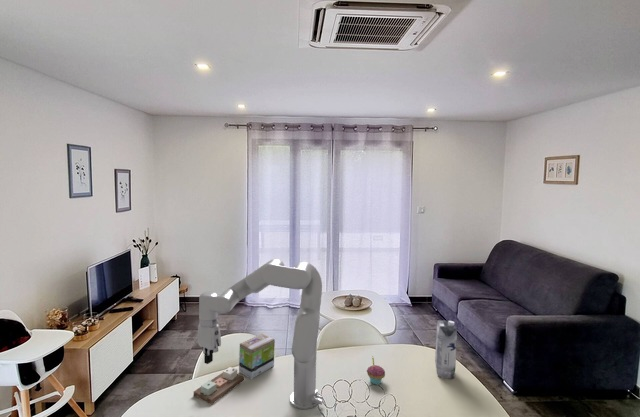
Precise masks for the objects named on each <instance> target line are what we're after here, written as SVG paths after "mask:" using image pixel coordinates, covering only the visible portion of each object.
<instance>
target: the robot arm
mask: <svg viewBox="0 0 640 417" xmlns="http://www.w3.org/2000/svg"><path fill="white" fill-rule="evenodd" d="M322 281H323V280H322V278H321V275H320V273H319V271H318V269H317V268H316V267H315V266H314V265H313V264H311V263H310V262H307V261H300V262H297V263H296V264H295V265H294V267H290V266H286V265H285V264H284V262H283V261H282V260H281V259H279V258H274V259H270V260H268V261H267V262H266V263H264V264H262V265H261V266H259V267H258V268H257V269H255V270H254V271H252V272H251V273H249V274H248V275H246V276H244V277H243V279H241V280H239V281H237V282H236V283H234V284H233V285H231V286H230V287H228V288H227V289H225V291H224V292H222V293H221V294H219V295H218V294H217V292H214V291H206V292H205V291H204V292H202V293H201V294H199V298H198V299H199V300H198V301H199V302H198V303H199V304H198V305H199V307H198V308H199V309H198V310H199V312H198V315H199V317H198V318H199V319H198V320H199V323H198V328H197V338H196V339H197V345H198V346H199V348H201V349H202V353H203V356H204V357H203V358H204V360H203V361H204V362H203V363H204V364H206V365H209V364H211V363H212V362H213V360H214V358H213V357H214V356H213V355H214V353H218V352H219V347H221V345H222V339H221V334H222V333H221V328H220V325H219V320H218V319H219V318H218V317H219V314H228V313H229V312H231V311H232V309H233V308H234V307H235V306H236V305H237V304H238V303H239V302H240V301H241V300H243V299H245V298H246V297H248V296H250V295H251V294H258V293H260V292H261V291H263V290H265V289H266V288H268V287H269V286H273V287H279V288H284V289H285V288H286V289H291V290H292V289H293V290H301V296H300V297H301V298H300V303H299V309H298V312H297V315H296V320H295V322H294V323H295V324H294V330H293V337H292V344H291V353H292V356H293V392H291V394H290V396H289V402H290V405H292V406H293V407H294V408H296V409H299V410H308V409H312V408H314V407H316V406H317V405H320V406H322V405H323V403H324V395H320V394H319V390H318V389H316V388H317V387H316V386H317V385H316V384H317V380H316V379H317V349H318V345H317V344H318V338H319V336H318V335H319V328H320V321H321V320H320V319H321V316H320V315H321V313H320V310H321V304H322V295H323V282H322Z"/></svg>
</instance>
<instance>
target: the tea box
mask: <svg viewBox="0 0 640 417" xmlns="http://www.w3.org/2000/svg"><path fill="white" fill-rule="evenodd" d="M275 341H276V340H275V339H274V338H272V337H270V336H268V335H266V334H264V333H261V334H259V335H256V336H254V337H252V338H250V339H247V340H245V341H243V342H239V352H238V353H239V354H238V355H239V357H238V362H239V363H238V372H239V374H240V373H241V375H242V374H243V376H245V377H247V378H249V379H251V380H252V379H254V378H256V377H257V376H258V375H261V374H262V373H265V372H266V371H268V370H270V369H272V368H273V367H275ZM271 367H272V368H271Z"/></svg>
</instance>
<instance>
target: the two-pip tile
mask: <svg viewBox="0 0 640 417" xmlns="http://www.w3.org/2000/svg"><path fill="white" fill-rule="evenodd" d="M222 373H223V378H225V379H227V380H229V381H231V380H233V379H234V378H235V377H236V376H237V374H238V369H237V368H235V367H232V366H229V367H228V368H226V369H224V370H223V371H222Z"/></svg>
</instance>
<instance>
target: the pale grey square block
mask: <svg viewBox="0 0 640 417" xmlns="http://www.w3.org/2000/svg"><path fill="white" fill-rule="evenodd" d="M200 387H201V393H203V394H204V395H206V396H210V395H211V394H213V392H215V391H216V390H217V384H216V383H214V382H211V381H210V380H207V381H206V382H204V383H203V384H202V385H200Z"/></svg>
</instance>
